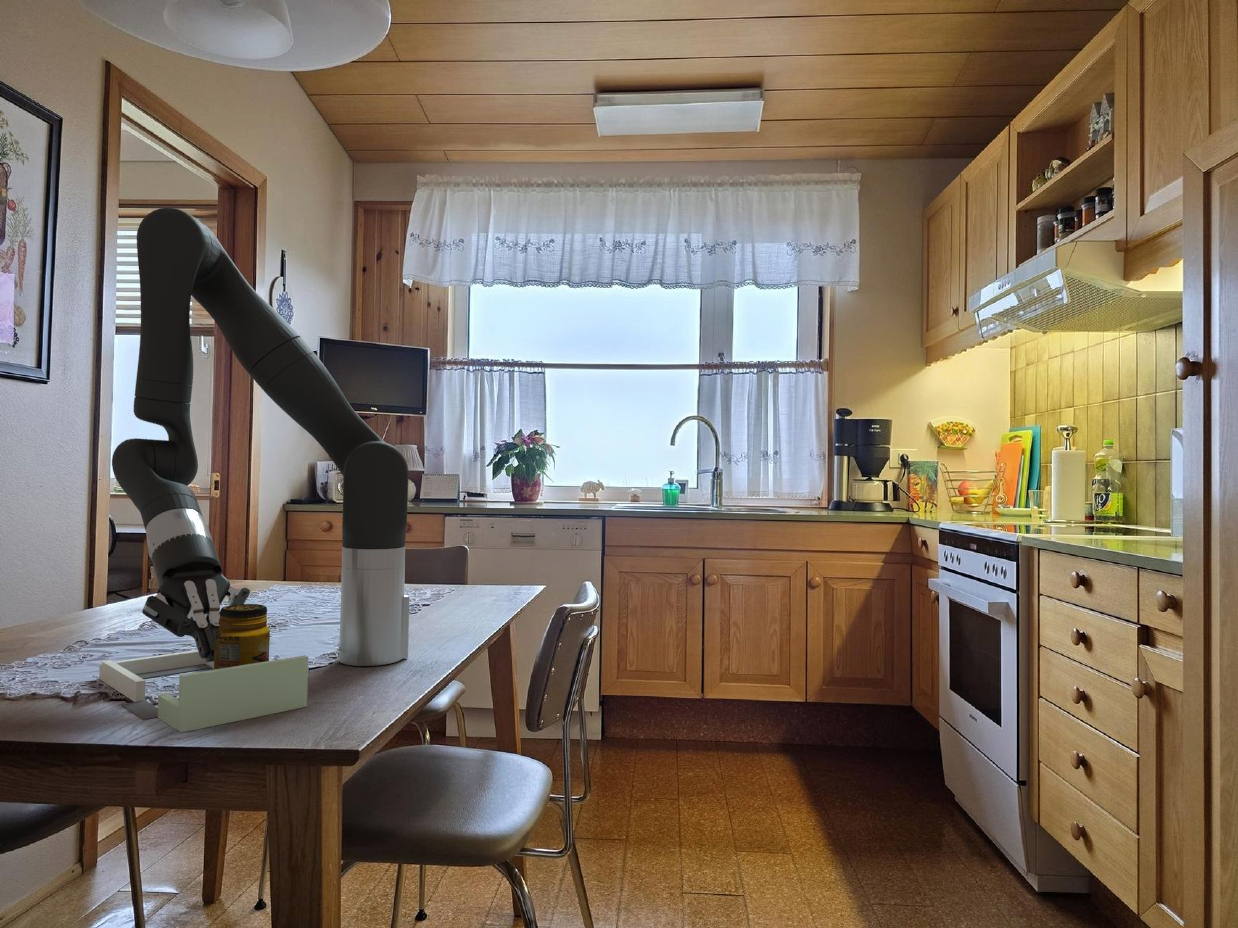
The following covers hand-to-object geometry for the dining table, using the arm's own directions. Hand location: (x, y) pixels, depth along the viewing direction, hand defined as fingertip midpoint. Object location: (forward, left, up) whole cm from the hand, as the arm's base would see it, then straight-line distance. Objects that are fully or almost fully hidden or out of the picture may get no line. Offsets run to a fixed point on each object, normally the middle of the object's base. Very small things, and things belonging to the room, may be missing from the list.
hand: (215, 657), depth 96 cm
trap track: (0, -6, -5) cm, 8 cm away
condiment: (-1, +4, -6) cm, 7 cm away
